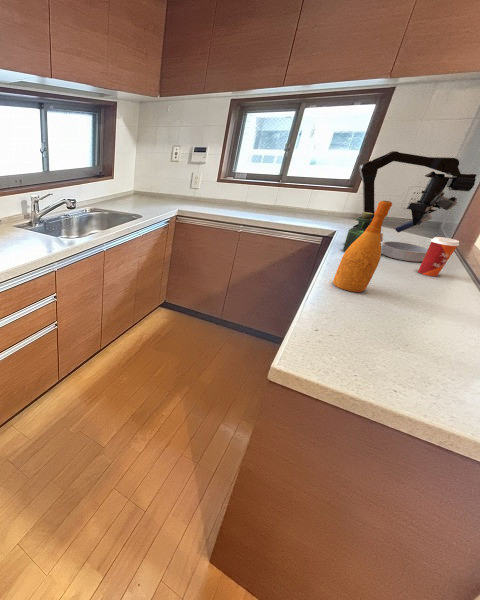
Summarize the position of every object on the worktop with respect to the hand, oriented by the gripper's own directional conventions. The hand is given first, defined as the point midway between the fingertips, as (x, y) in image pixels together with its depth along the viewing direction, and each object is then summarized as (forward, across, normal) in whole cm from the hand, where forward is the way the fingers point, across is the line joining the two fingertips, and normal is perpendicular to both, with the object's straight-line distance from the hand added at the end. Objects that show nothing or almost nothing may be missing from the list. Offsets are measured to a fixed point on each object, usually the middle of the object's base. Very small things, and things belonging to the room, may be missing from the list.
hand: (416, 225), depth 146 cm
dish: (+13, -8, -3) cm, 15 cm away
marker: (+4, 0, +6) cm, 7 cm away
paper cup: (+13, -24, -17) cm, 33 cm away
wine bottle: (+13, -69, -11) cm, 71 cm away
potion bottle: (+13, -23, +11) cm, 28 cm away
